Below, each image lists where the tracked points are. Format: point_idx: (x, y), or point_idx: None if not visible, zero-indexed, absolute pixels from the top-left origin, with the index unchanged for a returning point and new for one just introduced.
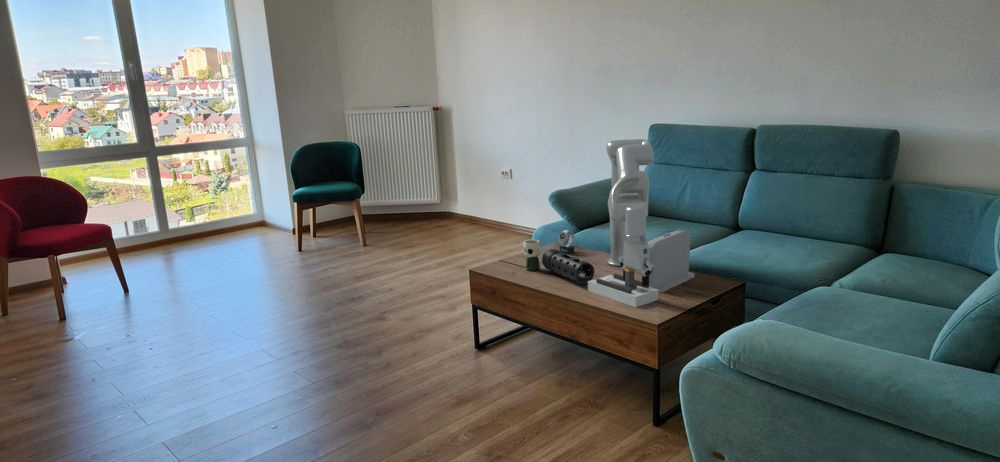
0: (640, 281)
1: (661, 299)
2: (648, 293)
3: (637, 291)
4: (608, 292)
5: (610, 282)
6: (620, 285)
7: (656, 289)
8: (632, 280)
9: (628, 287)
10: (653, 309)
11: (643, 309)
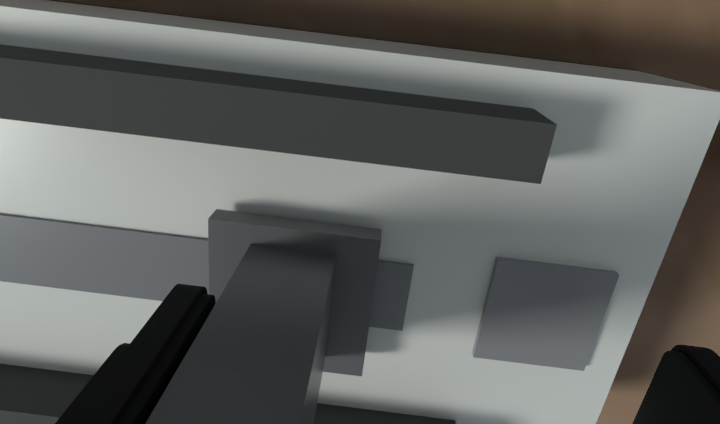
0: (340, 115)
1: (667, 28)
2: (640, 298)
3: (493, 360)
4: None
5: (48, 420)
6: (138, 290)
7: (692, 104)
8: (319, 348)
9: (335, 371)
10: (715, 343)
11: (625, 390)
